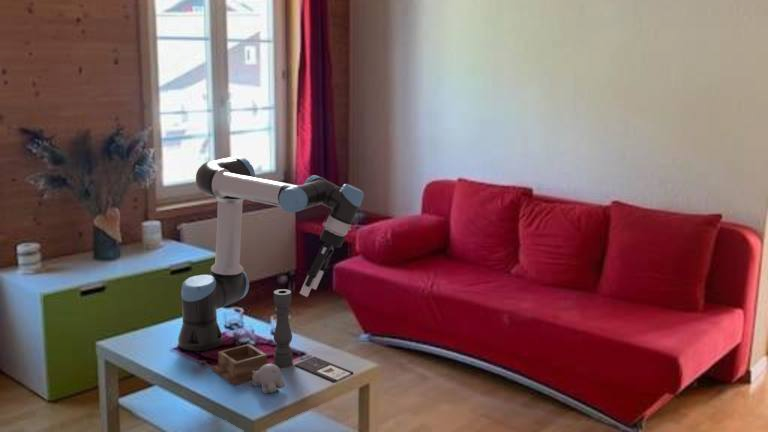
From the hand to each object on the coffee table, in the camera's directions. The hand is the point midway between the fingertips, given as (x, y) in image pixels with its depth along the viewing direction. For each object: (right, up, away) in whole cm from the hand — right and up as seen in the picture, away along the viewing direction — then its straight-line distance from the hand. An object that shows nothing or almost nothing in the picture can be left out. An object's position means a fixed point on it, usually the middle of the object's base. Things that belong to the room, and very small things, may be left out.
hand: (307, 291), depth 248 cm
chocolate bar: (+5, -27, +5) cm, 28 cm away
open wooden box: (-21, -26, +2) cm, 34 cm away
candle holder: (-9, -25, +9) cm, 28 cm away
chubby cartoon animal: (-12, -29, -10) cm, 33 cm away
